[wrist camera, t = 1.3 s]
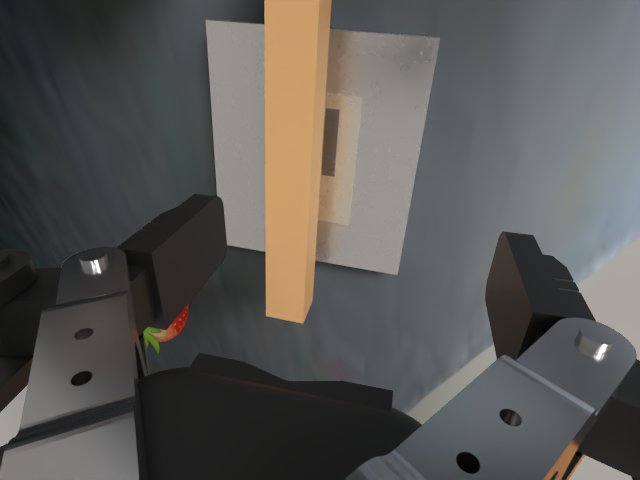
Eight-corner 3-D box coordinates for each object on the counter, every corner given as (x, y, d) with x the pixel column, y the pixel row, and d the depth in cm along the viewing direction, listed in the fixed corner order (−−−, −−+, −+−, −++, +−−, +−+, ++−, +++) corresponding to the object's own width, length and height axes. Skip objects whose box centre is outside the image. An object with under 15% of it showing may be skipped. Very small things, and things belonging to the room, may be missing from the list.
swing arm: (278, -141, 22) (257, -161, 19) (346, -140, 21) (334, -162, 18) (274, 293, 35) (262, 315, 33) (316, 301, 35) (306, 324, 32)
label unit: (218, 19, 31) (203, 20, 29) (439, 36, 28) (440, 38, 26) (229, 233, 40) (218, 245, 38) (399, 263, 37) (397, 277, 35)
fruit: (155, 298, 46) (106, 348, 39) (160, 262, 43) (109, 309, 36) (199, 317, 46) (158, 371, 39) (207, 282, 43) (165, 332, 36)
